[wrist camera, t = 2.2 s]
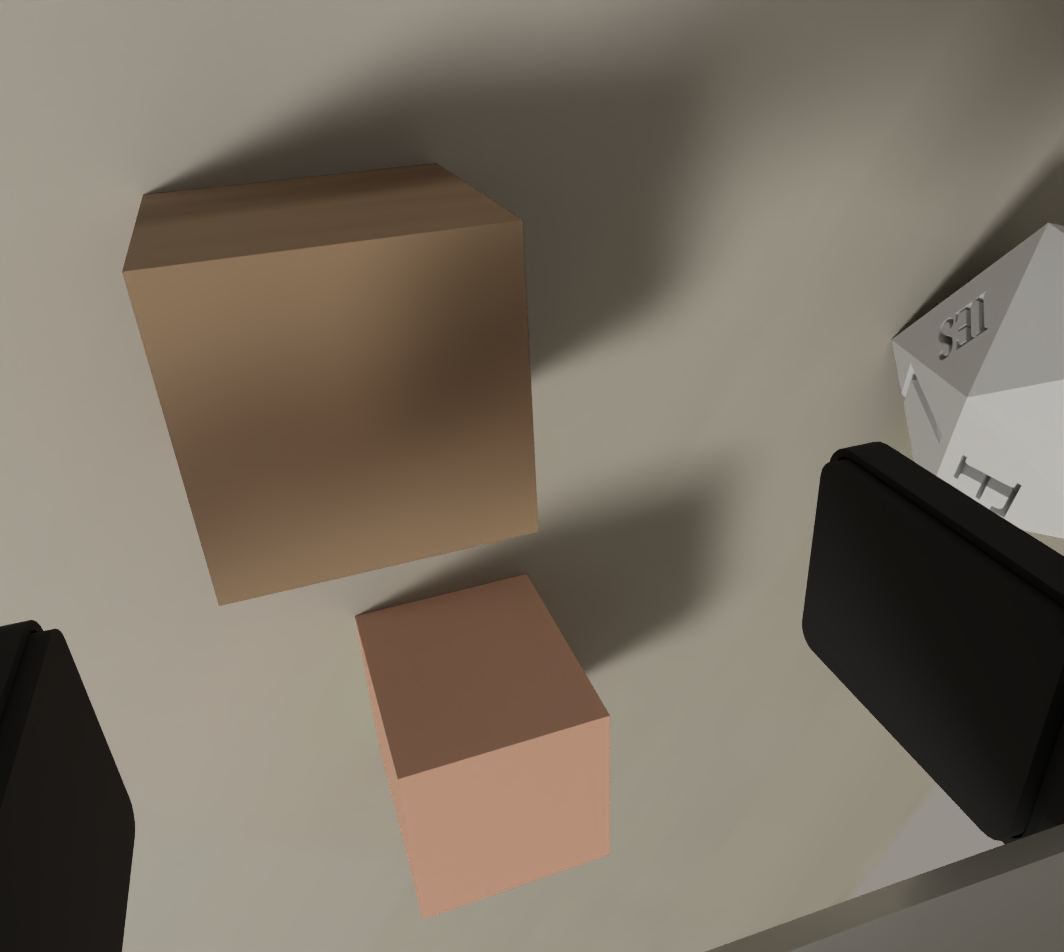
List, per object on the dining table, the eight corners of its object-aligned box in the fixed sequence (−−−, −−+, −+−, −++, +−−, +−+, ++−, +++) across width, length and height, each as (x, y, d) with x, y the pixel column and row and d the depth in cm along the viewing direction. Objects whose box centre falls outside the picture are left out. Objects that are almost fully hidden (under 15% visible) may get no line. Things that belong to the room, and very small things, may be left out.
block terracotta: (354, 614, 23) (397, 779, 18) (526, 573, 25) (609, 715, 20) (379, 743, 26) (422, 919, 21) (534, 699, 27) (609, 854, 22)
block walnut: (143, 194, 17) (122, 271, 12) (435, 162, 19) (522, 220, 14) (213, 456, 20) (218, 605, 15) (459, 410, 22) (538, 532, 17)
